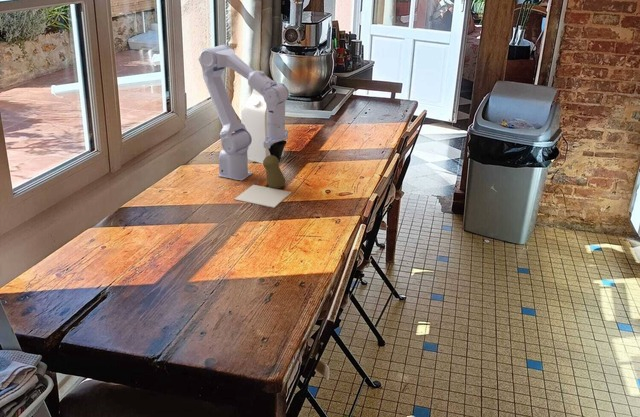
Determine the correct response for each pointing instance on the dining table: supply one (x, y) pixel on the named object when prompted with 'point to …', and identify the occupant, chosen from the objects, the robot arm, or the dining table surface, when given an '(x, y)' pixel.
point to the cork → (273, 172)
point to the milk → (256, 126)
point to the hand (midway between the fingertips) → (276, 162)
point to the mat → (263, 196)
